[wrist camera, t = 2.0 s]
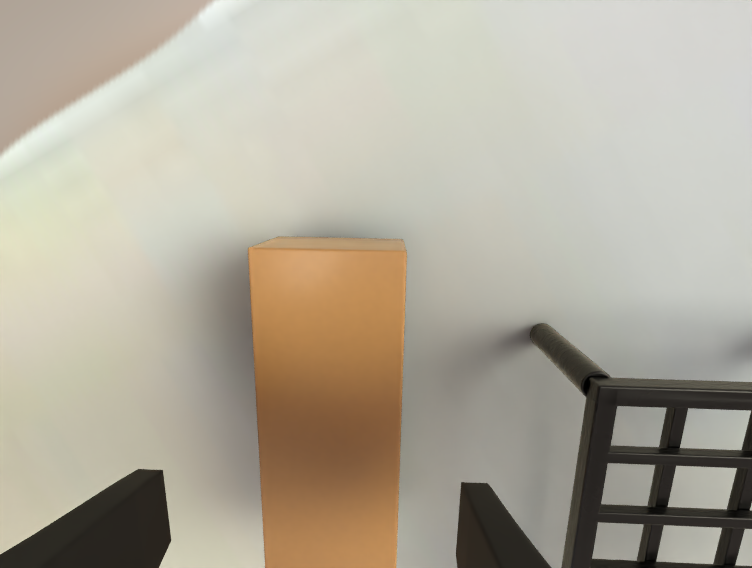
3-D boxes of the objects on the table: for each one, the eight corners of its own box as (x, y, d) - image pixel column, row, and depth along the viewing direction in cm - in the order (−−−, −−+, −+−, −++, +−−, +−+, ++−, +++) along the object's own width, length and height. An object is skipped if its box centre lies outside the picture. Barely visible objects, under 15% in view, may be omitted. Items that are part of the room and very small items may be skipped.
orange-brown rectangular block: (394, 504, 18) (395, 603, 13) (296, 500, 18) (266, 597, 14) (402, 234, 15) (406, 250, 11) (287, 232, 15) (246, 247, 11)
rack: (499, 617, 19) (536, 765, 14) (530, 322, 16) (594, 380, 11) (721, 629, 19) (840, 784, 14) (801, 330, 15) (994, 393, 10)
